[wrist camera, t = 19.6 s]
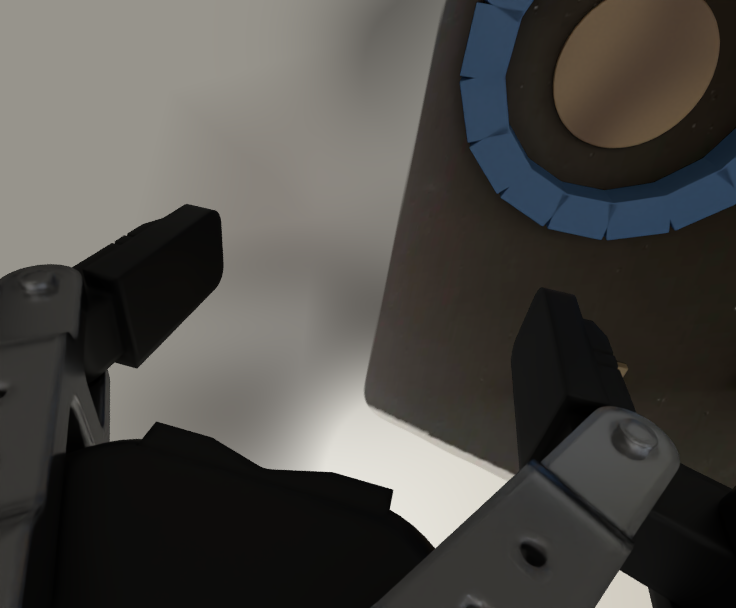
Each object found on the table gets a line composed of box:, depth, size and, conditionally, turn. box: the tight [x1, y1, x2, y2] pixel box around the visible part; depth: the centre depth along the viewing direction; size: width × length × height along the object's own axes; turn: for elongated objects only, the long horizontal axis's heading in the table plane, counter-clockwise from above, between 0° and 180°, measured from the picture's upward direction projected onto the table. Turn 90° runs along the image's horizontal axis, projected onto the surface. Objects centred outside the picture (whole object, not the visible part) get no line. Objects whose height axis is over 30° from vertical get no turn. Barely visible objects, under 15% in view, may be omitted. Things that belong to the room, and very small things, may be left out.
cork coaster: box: [552, 0, 720, 148], centre depth 30 cm, size 10×10×1 cm
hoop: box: [460, 0, 736, 240], centre depth 29 cm, size 23×23×3 cm
